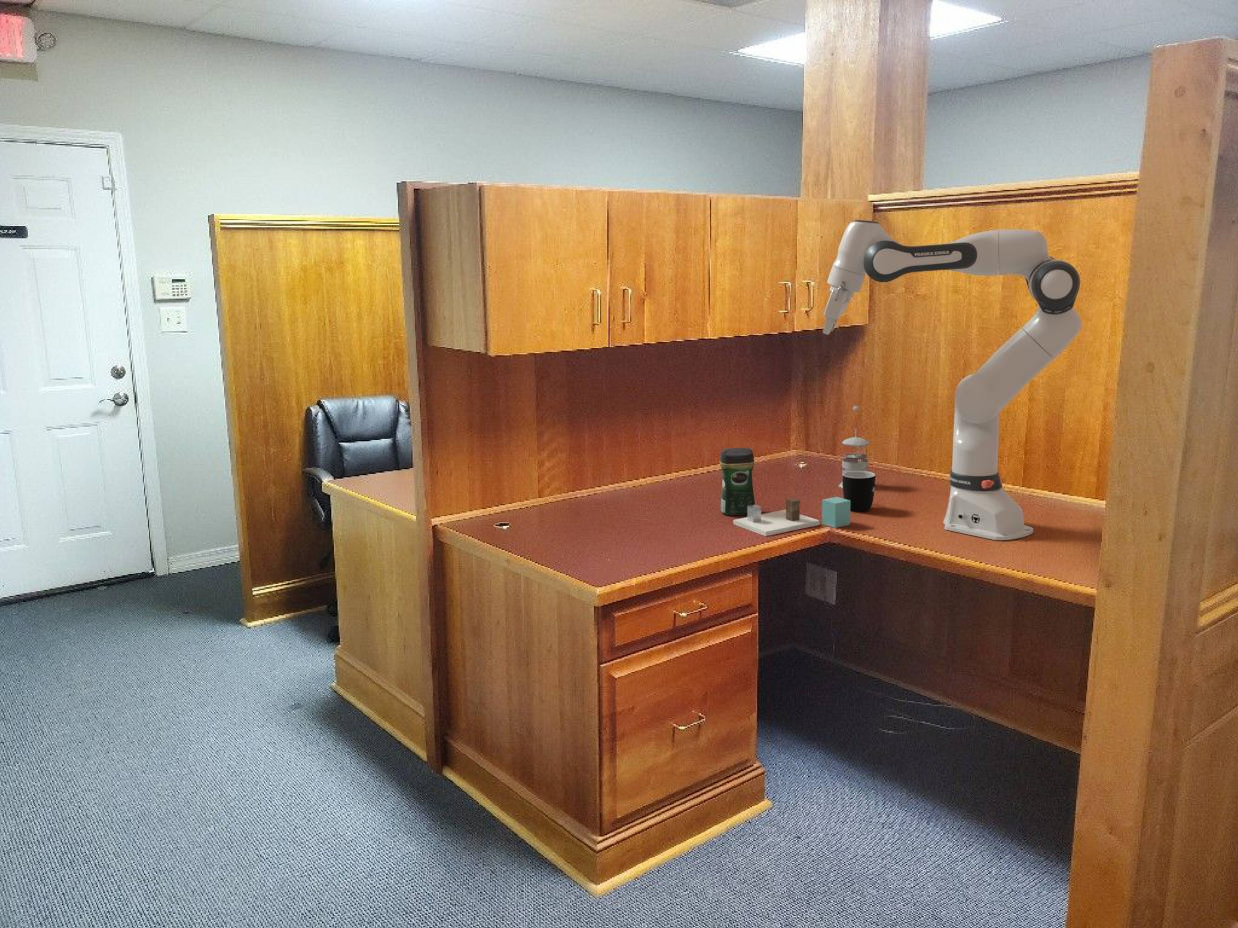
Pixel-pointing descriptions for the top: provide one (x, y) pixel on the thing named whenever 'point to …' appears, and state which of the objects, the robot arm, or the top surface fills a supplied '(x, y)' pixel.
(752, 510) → the post
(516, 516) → the top surface
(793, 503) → the post
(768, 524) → the board
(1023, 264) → the robot arm
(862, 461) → the french press
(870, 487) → the mug
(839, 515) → the turquoise block
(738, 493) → the coffee jar
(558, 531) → the top surface
